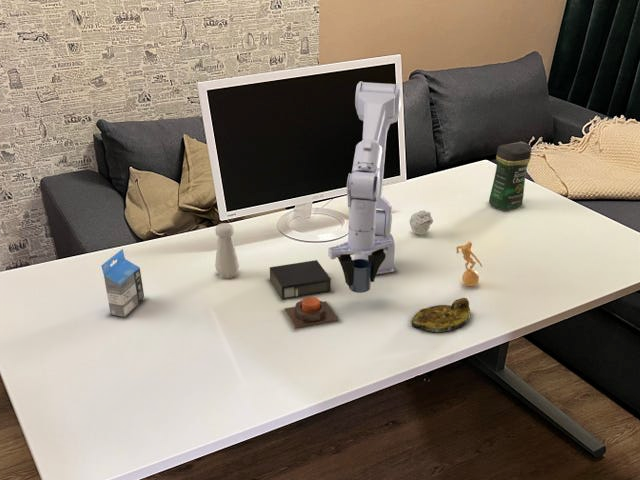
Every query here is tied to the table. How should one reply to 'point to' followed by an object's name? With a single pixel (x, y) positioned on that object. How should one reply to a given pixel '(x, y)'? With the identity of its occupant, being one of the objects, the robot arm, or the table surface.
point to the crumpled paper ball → (420, 222)
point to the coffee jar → (510, 175)
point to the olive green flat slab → (443, 316)
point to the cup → (361, 276)
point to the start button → (310, 304)
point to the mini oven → (300, 279)
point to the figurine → (470, 275)
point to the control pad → (310, 315)
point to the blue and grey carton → (122, 285)
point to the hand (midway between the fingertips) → (359, 281)
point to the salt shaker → (226, 252)
